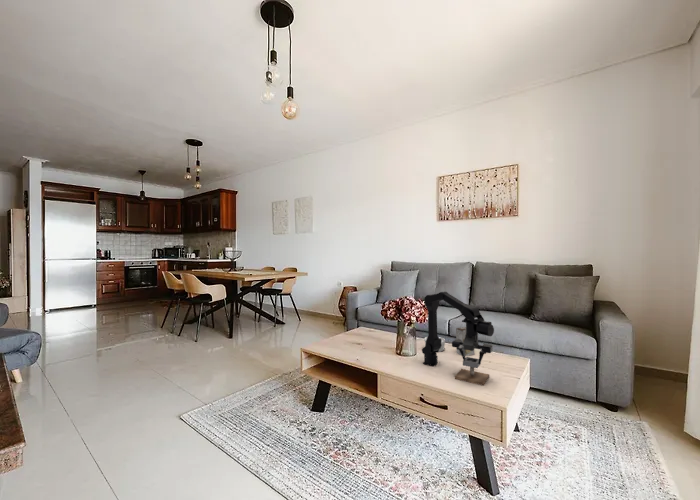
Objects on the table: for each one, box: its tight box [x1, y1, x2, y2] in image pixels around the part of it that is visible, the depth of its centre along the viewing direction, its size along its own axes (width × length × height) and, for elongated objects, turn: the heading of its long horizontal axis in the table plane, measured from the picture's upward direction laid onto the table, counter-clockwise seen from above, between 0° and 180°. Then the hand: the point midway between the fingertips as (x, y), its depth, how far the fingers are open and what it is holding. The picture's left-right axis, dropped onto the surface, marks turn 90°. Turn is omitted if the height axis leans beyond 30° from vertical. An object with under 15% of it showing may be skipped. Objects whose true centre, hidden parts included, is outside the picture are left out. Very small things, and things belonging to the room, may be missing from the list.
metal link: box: [462, 356, 482, 369], centre depth 162 cm, size 7×7×2 cm
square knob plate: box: [454, 367, 490, 386], centre depth 162 cm, size 14×12×8 cm
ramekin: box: [423, 336, 446, 353], centre depth 208 cm, size 13×13×7 cm
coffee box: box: [455, 326, 476, 357], centre depth 199 cm, size 9×6×16 cm
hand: (471, 362), depth 162 cm, fingers closed on metal link, 7 cm apart
